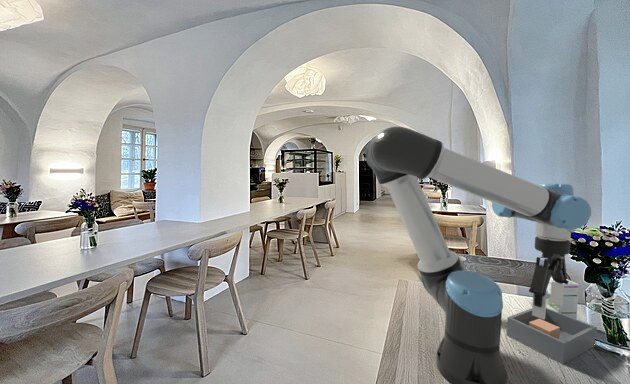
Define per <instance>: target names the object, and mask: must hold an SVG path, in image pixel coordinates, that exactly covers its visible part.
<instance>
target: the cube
mask: <svg viewBox="0 0 630 384" xmlns="http://www.w3.org/2000/svg"><path fill="white" fill-rule="evenodd" d="M529 326H530V327H533V328H535V329H537V330H539V331H541V332H544V333H546V334H548V335H550V336H552V337H555V338H557V339H559V332H560V327H558V326H555V325H553V324H551V323H548V322H546V321H544V320H541V319H537V320H534V321H531V322H529Z"/></svg>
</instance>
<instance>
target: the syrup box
mask: <svg viewBox="0 0 630 384" xmlns="http://www.w3.org/2000/svg"><path fill="white" fill-rule="evenodd" d="M552 281H553V278H552V276H551V278H550V281H549V284H548V287H547V290H546V293H545V295H546V296H547V297H546V308H548V309H551V310H554V311H556V312H559V313H561V314H564V315H567V316H569V317H572V318H574V319H577V320H578V306H579V305H578V303H579V290H580V284H579V283H577V282H574V281H573V280H570V279H568V278H567V281H568V284H564V283H562V284H564V293H563V306H560V305H557V304H554V303H551V302H550V298H551V282H552ZM554 282H555V281H554Z"/></svg>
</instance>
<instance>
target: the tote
mask: <svg viewBox="0 0 630 384" xmlns="http://www.w3.org/2000/svg"><path fill="white" fill-rule="evenodd" d="M506 319H507V321H506V336H507V337H509V338H511V339H513V340H515V341H517V342H519V343H521V344H523V345H525V346H527V347H529V348H531V349H532V350H535V351H536V352H538V353H540V354H542V355H544V356H546V357H548V358H550V359H552V360H554V361H556V362H557V363H560V364H562V365H564V364H565V363H568V362H569V361H571V360H573V359H575V358H576V357H578V356H580V355H582V354H583V353H585V352H587V351H589V350H591V349H592V348H593V347H592V346H594V344H595V345H596V342H595V337H596V338H597V329H598V328H597V326H595V325H592V324H590V323H588V322H585V321H583V320H580V319H578V318H577V319H574V318H572V317H569V316H567V315H564V314H561V313H559V312H556V311H554V310H551V309H548V308H546V313H545V319H541V318H538V317H536V316H533V315H532V308H529V309H527V310H524V311H520V312H519V313H515V314H512V315H510V316H507V318H506ZM537 319H541V320H544V321H546V322H548V323H551V324H553V325H555V326H558V327H560V332H559V339H557V338H555V337H552V336H550V335H548V334H546V333H544V332H541V331H539V330H537V329H535V328H533V327H530V326H529V322H531V321H534V320H537ZM591 347H592V348H591ZM594 347H595V346H594ZM590 348H591V349H590ZM588 349H589V350H588Z"/></svg>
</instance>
